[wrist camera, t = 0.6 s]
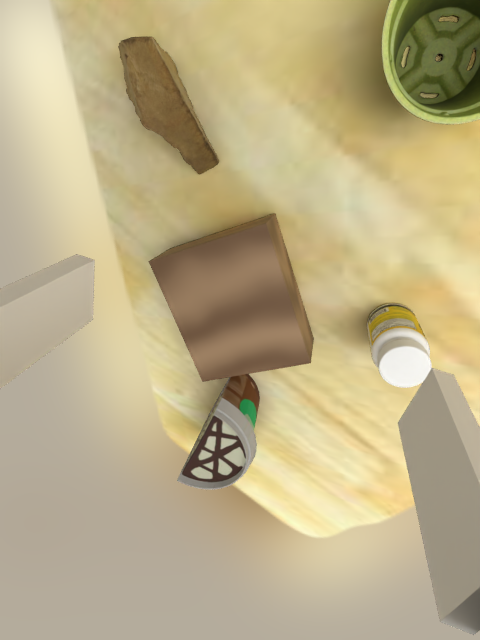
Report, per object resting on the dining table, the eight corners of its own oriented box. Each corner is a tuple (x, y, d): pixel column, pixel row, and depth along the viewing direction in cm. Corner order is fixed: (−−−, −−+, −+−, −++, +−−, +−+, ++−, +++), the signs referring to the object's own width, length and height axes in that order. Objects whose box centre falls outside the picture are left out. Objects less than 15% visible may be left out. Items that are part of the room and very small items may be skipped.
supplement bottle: (411, 346, 37) (429, 396, 30) (363, 341, 38) (369, 388, 31) (421, 303, 35) (443, 345, 28) (370, 299, 36) (378, 339, 29)
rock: (244, 176, 32) (234, 33, 26) (159, 199, 27) (126, 33, 22) (180, 166, 39) (162, 51, 34) (105, 182, 35) (70, 54, 29)
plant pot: (359, 127, 30) (366, 121, 22) (384, -22, 26) (404, -91, 18) (482, 132, 28) (536, 127, 21) (531, -27, 24) (621, -106, 16)
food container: (244, 444, 48) (224, 509, 40) (204, 422, 49) (175, 483, 40) (286, 380, 42) (273, 441, 34) (240, 356, 43) (215, 410, 34)
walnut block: (170, 248, 39) (148, 261, 34) (275, 213, 35) (266, 223, 30) (216, 357, 44) (202, 381, 39) (313, 338, 39) (310, 362, 35)
